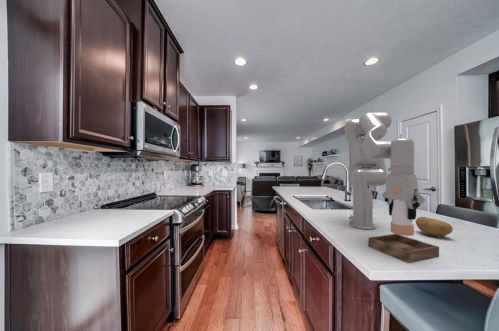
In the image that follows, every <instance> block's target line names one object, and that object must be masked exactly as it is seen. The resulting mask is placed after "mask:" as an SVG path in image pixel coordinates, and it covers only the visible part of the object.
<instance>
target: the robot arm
mask: <svg viewBox="0 0 499 331" xmlns="http://www.w3.org/2000/svg"><path fill="white" fill-rule="evenodd" d="M392 120H393V119H392V117H391V115H390V113H388V112H385V111H382V112H380V111H379V112H378V111H376V112H372V111H371V112H365V113H363V114H362V115H360V116H359V118H353V119H352V118H351V119H349V120H348V121H346V122H345V125H344V135H345V139H346V141H347V142H348V146H349V152H350V158H351V163H352V165H353V166H354V167H358V168H355V169H353V170H352V171H351V174H350V178H351V185H352V215H351V214H350V216H348V220H350V222H349V226H351V228H352V227H353V228H356V229H360V230H361V229H362V230H375V229H376V227H377V226H376V224H374V223H373V222H374V221H373V205H374V204H373V200H374V199H373V193H372V190H371V189H370V188H369V187H372V186H374V187H378V186H379V187H381V186H382V187H383V186H385V191H384V192H383V193H382V194H381V197H383V199H384V201H385V202H386V204H387V206H388V212H389V213H388V215H389V216H392V209H393V200H400V201H407V203H408V205H409V207H410V209H408V219H409V220H416V219H417V209H419V207H421V206H422V205H423V204H424V203H425V202H426V198H425V197H424V196H422V195H421V194H420V193H419V183H418V179H417V178H418V177H417V175H416V174H415V142H414V140H413V139H412V138H397V139H393V140H381V139H382V138H384V137H385V136H386V135H387V132H388V128H390V126H391V124H392ZM363 134H364V138H363V137H362V136H360V135H363ZM385 159H388V160H390V162H389V163H390V164H389V167H388V169H387V166H386V163H385ZM387 170H388V171H389V173H388V171H387ZM393 187H400V189H402V193H400V194H396V193H393V192H392V188H393Z"/></svg>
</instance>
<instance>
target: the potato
mask: <svg viewBox="0 0 499 331" xmlns="http://www.w3.org/2000/svg"><path fill="white" fill-rule="evenodd" d="M415 225H416V226H417V228H418V230H420V231H421V232H423V233H424V234H426V235H428V236H431V237H441V238H442V237H446V236H448V235H450V234H451V233H452V232H453V230H454V228H453V226H452V225H451V224H450V223H448V222H446V221H443V220H439V219H436V218H430V217H425V216H419V217H416V219H415Z"/></svg>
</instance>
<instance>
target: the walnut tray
mask: <svg viewBox="0 0 499 331" xmlns="http://www.w3.org/2000/svg"><path fill="white" fill-rule="evenodd" d="M367 239H368V240H367V244H368V245H367V246H368V247H369V248H372V249H374V250H376V251H378V252H382V253H384V254H385V255H389V256H391V257H393V258H396V259H398V260H401V261H403V262H406V263H408V264H410V263H415V262H420V261H424V260H428V259H433V258H437V257H440V246H438V245H434V244H431V243H428V242H425V241H421V240H418V239H415V238H412V237H410V236H406V235H399V234H395V233H391V234H384V235H383V234H382V235H377V236H372V237H368V238H367Z"/></svg>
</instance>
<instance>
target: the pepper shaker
mask: <svg viewBox="0 0 499 331" xmlns="http://www.w3.org/2000/svg"><path fill="white" fill-rule="evenodd" d="M392 192H393V193H396V194H400V193H402V189H400V187H393V188H392ZM408 209H410V207H409V205H408V203H407V201H400V200H393V209H392V215H391V222H390V233H391V234H399V235H402V236H405V237H410V236H411V237H412V236H415V234H414V230H415V229H414V227H415V226H414V224H413V220H414V219H413V220H409V219H408Z"/></svg>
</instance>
